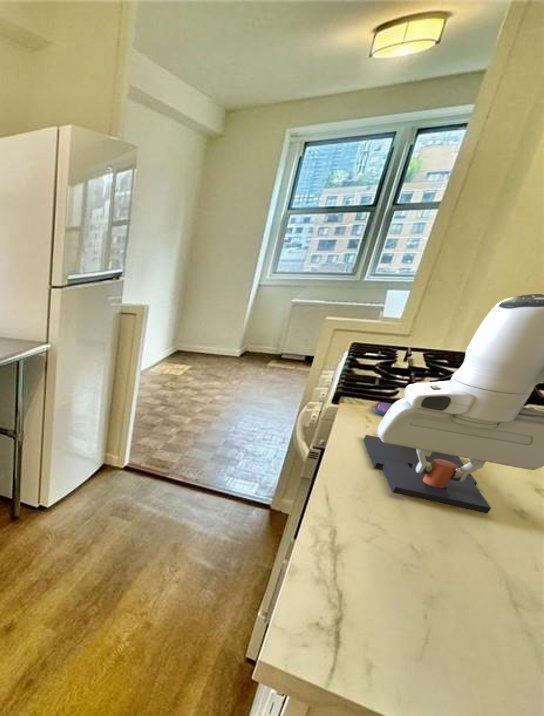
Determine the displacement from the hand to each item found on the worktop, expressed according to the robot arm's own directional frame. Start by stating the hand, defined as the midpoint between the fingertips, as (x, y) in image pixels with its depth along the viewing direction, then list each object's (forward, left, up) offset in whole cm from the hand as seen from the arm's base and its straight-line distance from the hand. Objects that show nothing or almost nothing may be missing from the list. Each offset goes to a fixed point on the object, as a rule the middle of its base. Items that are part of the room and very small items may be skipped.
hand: (437, 475), depth 83 cm
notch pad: (0, -12, -3) cm, 13 cm away
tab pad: (0, -1, -3) cm, 3 cm away
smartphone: (-5, -39, -3) cm, 40 cm away
